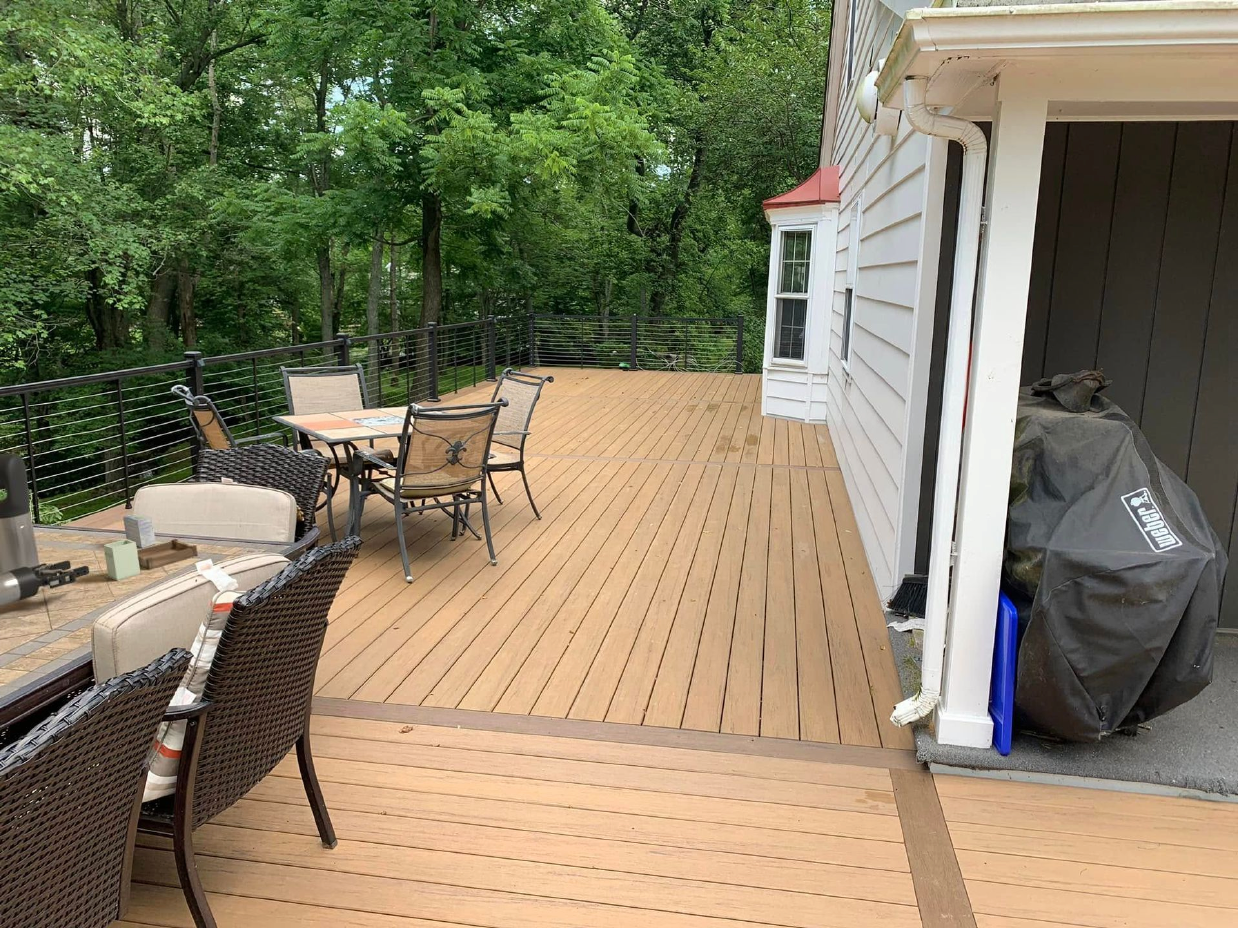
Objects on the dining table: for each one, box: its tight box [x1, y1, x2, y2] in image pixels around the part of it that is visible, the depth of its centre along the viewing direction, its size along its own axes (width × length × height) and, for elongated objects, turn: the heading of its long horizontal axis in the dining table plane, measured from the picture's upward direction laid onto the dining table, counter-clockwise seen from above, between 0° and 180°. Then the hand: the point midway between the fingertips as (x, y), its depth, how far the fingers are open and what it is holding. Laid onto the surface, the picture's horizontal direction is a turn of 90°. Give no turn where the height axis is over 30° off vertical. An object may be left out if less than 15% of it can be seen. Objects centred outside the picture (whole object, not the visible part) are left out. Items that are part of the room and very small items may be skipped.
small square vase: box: [103, 538, 141, 582], centre depth 238 cm, size 5×6×9 cm
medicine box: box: [123, 513, 157, 549], centre depth 264 cm, size 8×4×9 cm, turn 58°
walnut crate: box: [137, 538, 199, 570], centre depth 251 cm, size 12×14×3 cm
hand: (78, 566), depth 228 cm, fingers open, 8 cm apart
